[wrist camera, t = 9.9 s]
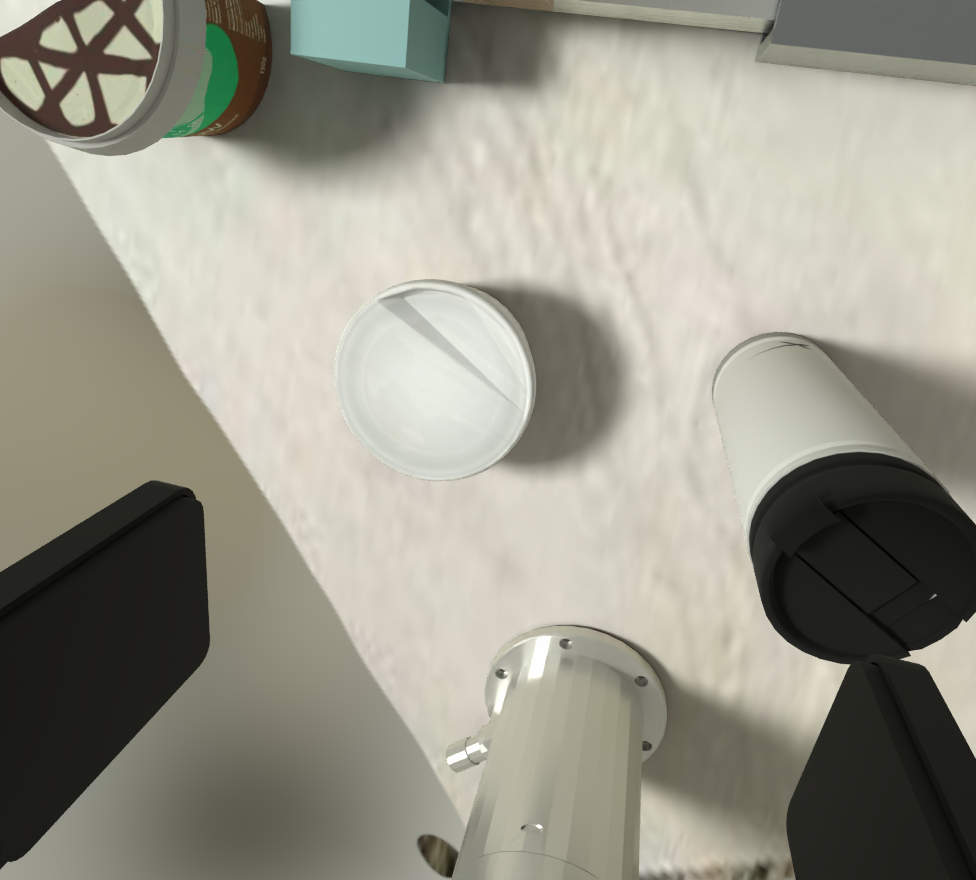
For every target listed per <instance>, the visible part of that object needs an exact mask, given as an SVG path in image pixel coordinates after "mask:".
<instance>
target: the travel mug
mask: <svg viewBox="0 0 976 880" xmlns="http://www.w3.org/2000/svg"><path fill="white" fill-rule="evenodd" d="M712 397H713V404H714V408H715V412H716V417H717V421H718V425H719V430H720V434H721V438H722V442H723V447H724V451H725V455H726V460H727V464H728V468H729V473H730V477H731V481H732V485H733V490H734V494H735V498H736V503H737V507H738V511H739V516H740V520H741V524H742V528H743V533H744V537H745V541H746V544H747V550H748V554H749V557H750V560H751V563H752V566H753V568H754V572H755V576H756V580H757V584H758V589H759V593H760V597H761V601H762V604H763V607H764V610H765V613H766V616H767V618H768V619H769V621H770V622H771V624H772V625H773V627H774V629H775V630H776V631H777V632H778V633H779V634H780V635H781V636H782V637H783V638H784V639H785V640H786V641H787V642H789V643H790V644H792V645H793V646H795V647H796V648H798V649H800V650H801V651H803V652H805V653H807V654H810V655H812V656H815V657H817V658H819V659H823V660H827V661H831V662H836V663H840V664H852V663H853V662H854V661H860V662H865V661H866V659H867V658H868V657H869V656H870V655H872V654H879V655H883V656H887V657H891V658H896V659H902V658H905V657H909V656H911V655H910V654H909V652H908V651H913V650H919V649H923V648H925V647H927V646H929V645H931V644H933V643H935V642H937V641H939V640H941V639H942V638H944V637H945V636H946V635H948V634H949V633H950V632H952V631H953V630H955V629H956V628H957V627H958V626H959V624H960V623H961V621H962V619H963V620H964V621H965V622H967V621H968V620H969V619H970V618H971V617H972V616H973V614H974V613H975V612H976V525H975V523H974V522H973V521H972V520H971V519H970V518H969V517H968V515H967V514H966V513H965V512H964V511H963V510H962V509H961V508H960V506H959V505H958V504H957V503H956V502H955V501H954V500H953V499H952V497H951V495H950V494H949V492H948V490H947V489H946V488H945V487H944V486H943V484H942V483H941V482H940V481H939V480H938V479H937V478H936V476H935V475H934V474H933V473H932V472H931V471H930V470H929V469H928V468H927V466H926V465H925V464H924V463H923V462H922V461H921V460H920V459H919V458H918V456H917V455H916V454H915V453H914V452H913V451H912V450H911V449H910V447H909V446H908V445H907V444H906V443H905V442H904V441H903V440H902V439H901V437H900V436H899V435H898V434H897V433H896V432H895V431H894V430H893V429H892V427H891V426H890V425H889V424H888V423H887V422H886V421H885V420H884V419H883V417H882V416H881V415H880V414H879V413H878V412H877V411H876V410H875V409H874V407H873V406H872V405H871V404H870V403H869V402H868V401H867V400H866V398H865V397H864V396H863V395H862V394H861V393H860V392H859V391H858V390H857V388H856V387H855V386H854V385H853V384H852V383H851V382H850V381H849V380H848V378H847V377H846V376H845V375H844V374H843V373H842V372H841V371H840V370H839V368H838V367H837V366H836V365H835V364H834V363H833V362H832V361H831V360H830V358H829V357H828V356H827V355H826V354H825V353H824V352H823V351H822V349H821V348H820V347H818V346H817V345H816V344H814V343H813V342H812V341H810V340H808V339H806V338H804V337H801V336H799V335H794V334H790V333H779V332H774V333H767V334H761V335H758V336H755V337H752V338H750V339H748V340H746V341H744V342H742V343H740V344H739V345H738V346H736V347H735V348H734V349H732V350H731V351H730V352H729V353H728V354H727V356H726V357H725V358H724V359H723V360H722V362H721V364H720V365H719V367H718V369H717V371H716V374H715V377H714V379H713V386H712Z"/></svg>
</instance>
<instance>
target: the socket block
mask: <svg viewBox="0 0 976 880" xmlns="http://www.w3.org/2000/svg"><path fill="white" fill-rule="evenodd" d="M451 3H452V1H447V0H291V53H290V54H292V55H295V56H299V57H302V58H305V59H308V60H312V61H315V62H318V63H321V64H325V65H328V66H331V67H334V68H337V69H341V70H344V71H349V72H357V73H365V74H373V75H381V76H389V77H398V78H406V79H414V80H422V81H430V82H438V83H444V82H445V71H446V60H447V48H448V37H449V26H450V15H451Z"/></svg>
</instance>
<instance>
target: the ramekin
mask: <svg viewBox="0 0 976 880" xmlns="http://www.w3.org/2000/svg"><path fill="white" fill-rule="evenodd" d="M334 383H335V391H336V396H337V400H338V403H339V406H340V410H341V412H342V415H343V417H344V419H345V421H346V423H347V425H348V427H349V428H350V430H351V432H352V434H353V435H354V436H355V437H356V438H357V439H358V441H359V442H360V443H361V445H363V447H364V448H365V449H366V450H367V451H368V452H370V453H371V454H372V455H373V456H374V457H375V458H377V459H378V460H379V461H381V462H382V463H384V464H385V465H387V466H389V467H390V468H392V469H394V470H396V471H398V472H400V473H402V474H404V475H407V476H411V477H415V478H417V479H421V480H428V481H452V480H459V479H464V478H468V477H471V476H474V475H477V474H479V473H481V472H483V471H485V470H487V469H489V468H491V467H492V466H494V465H495V464H497V463H498V462H499V461H501V460H502V459H503V458H504V457H505V456H506V455H507V454H508V453H509V452H510V451H511V450H512V449H513V447H514V446H515V445H516V444H517V442H518V441H519V440H520V438H521V436H522V435H523V433H524V431H525V430H526V428H527V426H528V423H529V421H530V418H531V415H532V412H533V408H534V404H535V398H536V374H535V367H534V362H533V358H532V355H531V352H530V349H529V343H528V341H527V339H526V336H525V333H524V332H523V330H522V328H521V326H520V324H519V323H518V322H517V321H516V319H515V318H514V316H513V315H512V313H511V312H509V311H508V310H507V308H506V307H505V306H504V305H502V304H501V303H499V302H498V301H497V300H496V299H495V298H493V297H491V296H489V295H488V294H487V293H485V292H482V291H479V290H478V289H476V288H472V287H468V286H466V285H462V284H459V283H455V282H450V281H445V280H436V279H424V280H414V281H409V282H405V283H401V284H398V285H395V286H393V287H390V288H388V289H386V290H384V291H382V292H381V293H379V294H377V295H376V296H374V297H373V298H371V299H370V300H369V301H367V302H366V303H365V304H364V305H363V306H362V307H361V308H360V309H359V310H358V311H357V312H356V313H355V314H354V316H353V317H352V318H351V320H350V321H349V323H348V325H347V326H346V328H345V330H344V332H343V334H342V336H341V339H340V341H339V344H338V348H337V352H336V358H335V366H334Z"/></svg>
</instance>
